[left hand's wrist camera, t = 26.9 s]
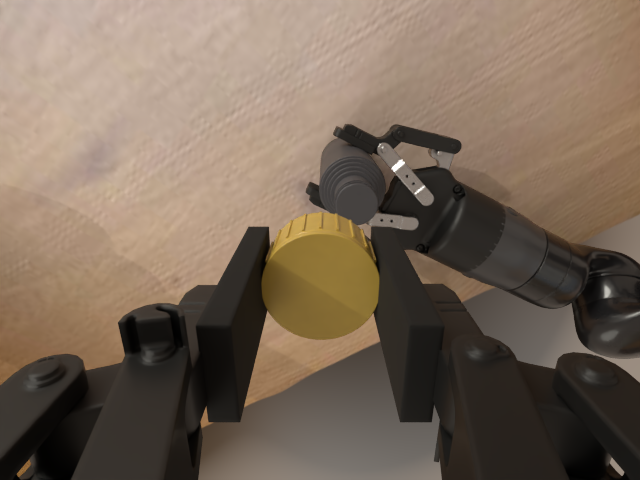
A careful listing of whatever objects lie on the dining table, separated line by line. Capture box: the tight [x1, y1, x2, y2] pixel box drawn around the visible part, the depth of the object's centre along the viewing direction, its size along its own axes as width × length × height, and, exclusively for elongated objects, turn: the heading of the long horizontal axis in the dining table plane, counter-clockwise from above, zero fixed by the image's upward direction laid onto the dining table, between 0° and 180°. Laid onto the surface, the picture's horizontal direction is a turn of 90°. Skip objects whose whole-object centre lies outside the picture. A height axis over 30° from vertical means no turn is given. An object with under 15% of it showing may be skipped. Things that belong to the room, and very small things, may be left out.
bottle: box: [319, 138, 386, 225], centre depth 32 cm, size 5×5×17 cm
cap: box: [261, 212, 379, 340], centre depth 13 cm, size 4×4×2 cm
